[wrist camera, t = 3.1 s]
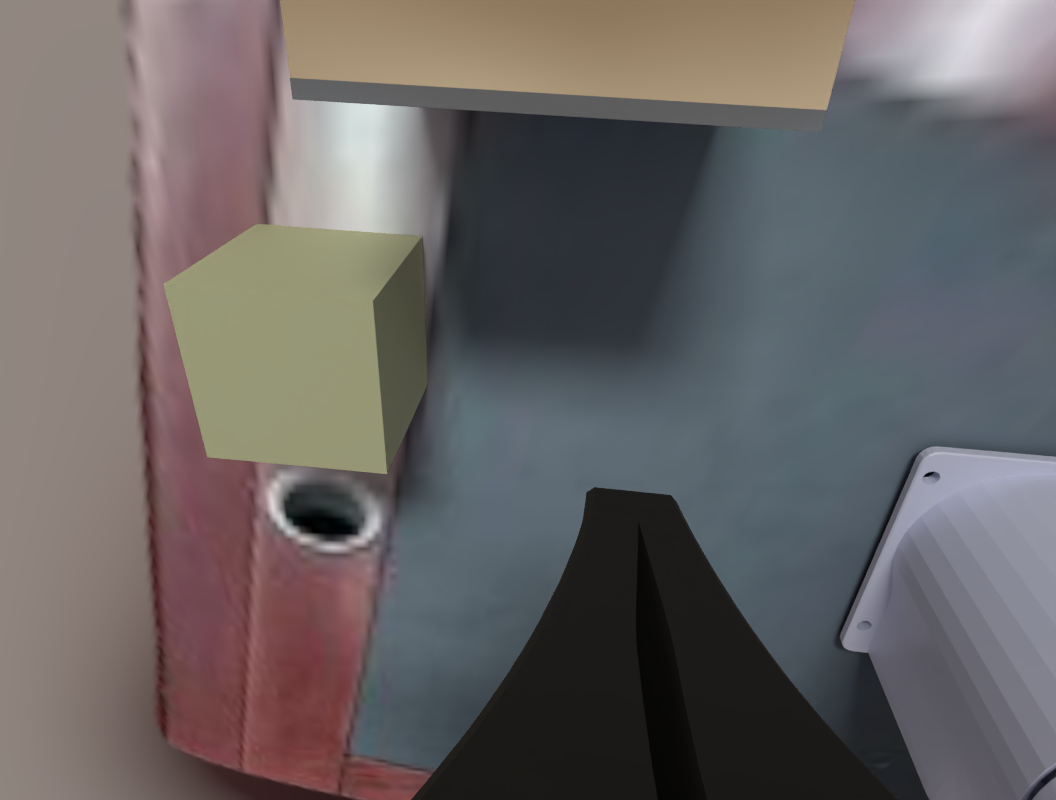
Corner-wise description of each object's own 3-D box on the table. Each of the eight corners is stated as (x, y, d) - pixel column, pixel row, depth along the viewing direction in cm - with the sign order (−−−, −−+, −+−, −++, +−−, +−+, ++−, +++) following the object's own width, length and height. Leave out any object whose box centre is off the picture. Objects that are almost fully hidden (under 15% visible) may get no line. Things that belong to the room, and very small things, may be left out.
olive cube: (428, 382, 22) (387, 474, 18) (282, 370, 22) (207, 457, 18) (422, 235, 20) (373, 300, 15) (257, 223, 20) (163, 284, 16)
